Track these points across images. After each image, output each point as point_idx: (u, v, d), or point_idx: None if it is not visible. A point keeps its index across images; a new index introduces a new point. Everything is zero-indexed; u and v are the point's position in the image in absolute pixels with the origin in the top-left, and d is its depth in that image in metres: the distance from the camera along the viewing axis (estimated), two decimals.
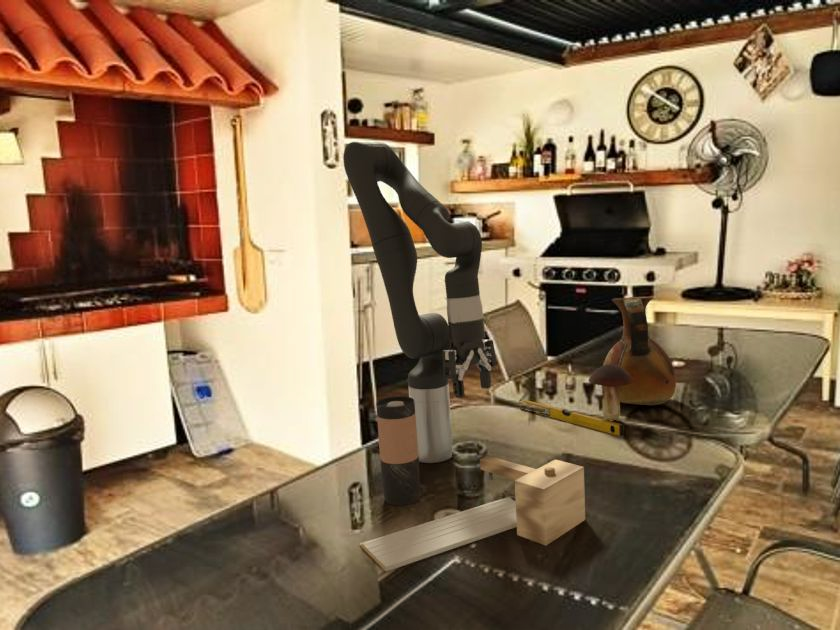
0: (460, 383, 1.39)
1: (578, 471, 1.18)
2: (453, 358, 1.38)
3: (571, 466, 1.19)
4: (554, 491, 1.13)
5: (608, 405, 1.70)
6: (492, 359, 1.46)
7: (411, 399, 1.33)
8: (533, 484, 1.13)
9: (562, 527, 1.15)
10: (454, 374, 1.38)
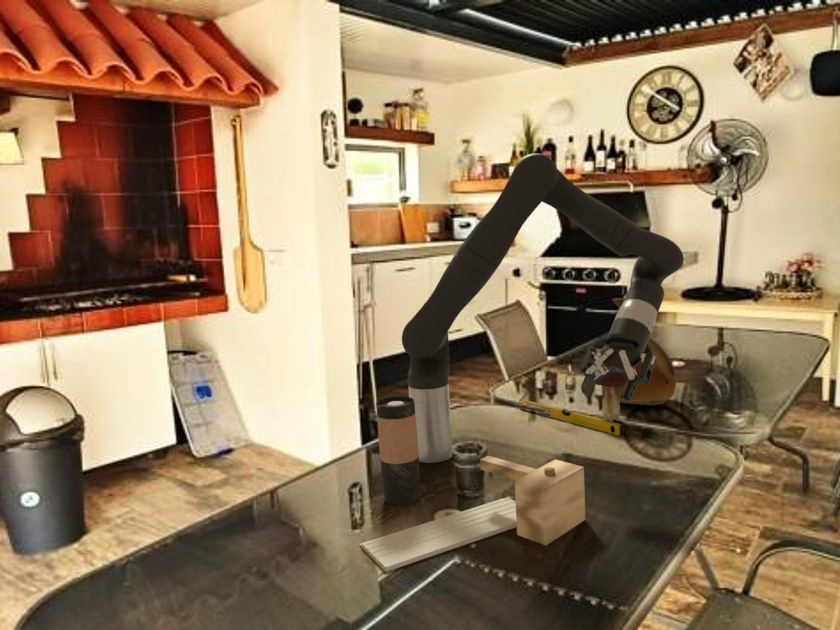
0: None
1: (578, 471, 1.18)
2: None
3: (571, 466, 1.19)
4: (554, 491, 1.13)
5: (608, 405, 1.70)
6: None
7: (411, 399, 1.33)
8: (533, 484, 1.13)
9: (562, 527, 1.15)
10: None
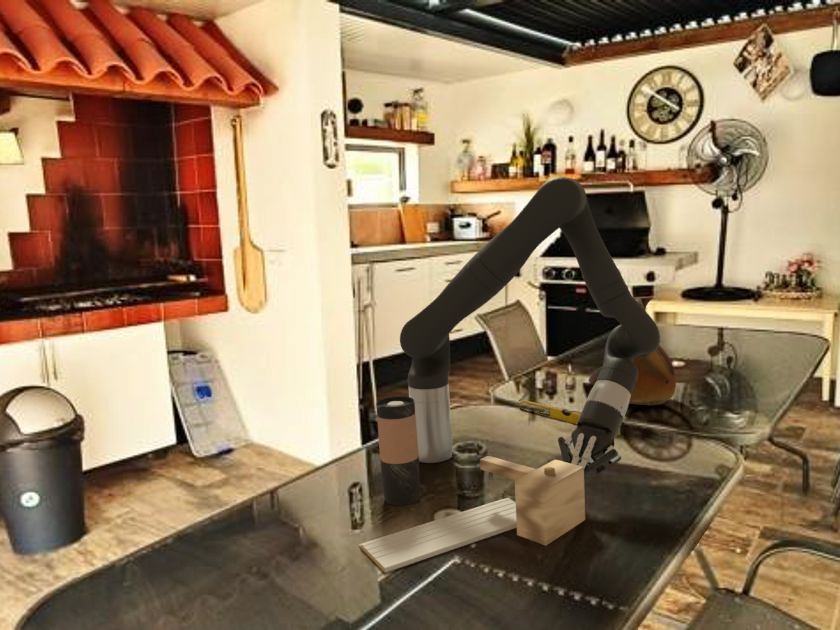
0: None
1: (578, 471, 1.18)
2: None
3: (571, 466, 1.19)
4: (554, 491, 1.13)
5: None
6: None
7: (411, 399, 1.33)
8: (533, 484, 1.13)
9: (562, 527, 1.15)
10: None
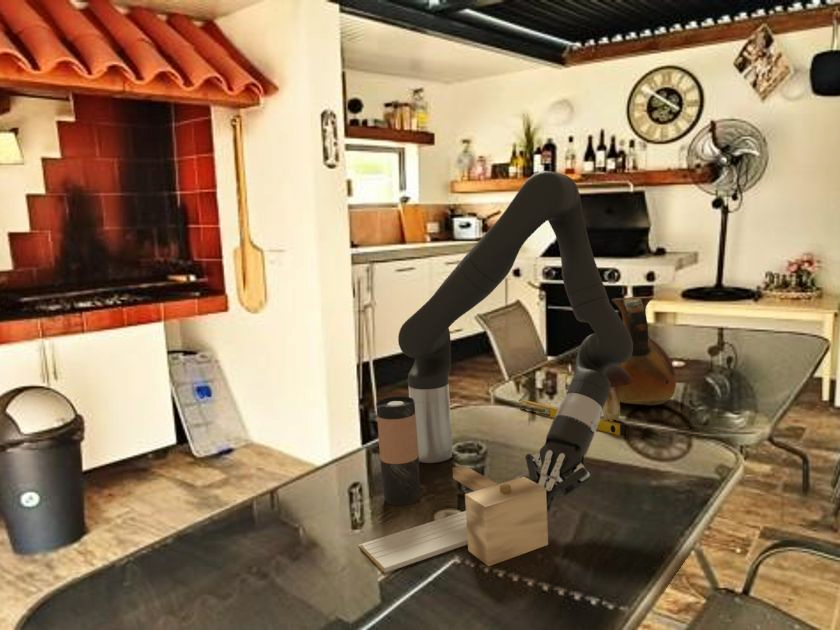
0: None
1: (537, 492, 1.10)
2: None
3: (533, 486, 1.12)
4: (500, 510, 1.07)
5: (608, 405, 1.70)
6: None
7: (411, 399, 1.33)
8: (479, 500, 1.08)
9: (512, 549, 1.09)
10: None
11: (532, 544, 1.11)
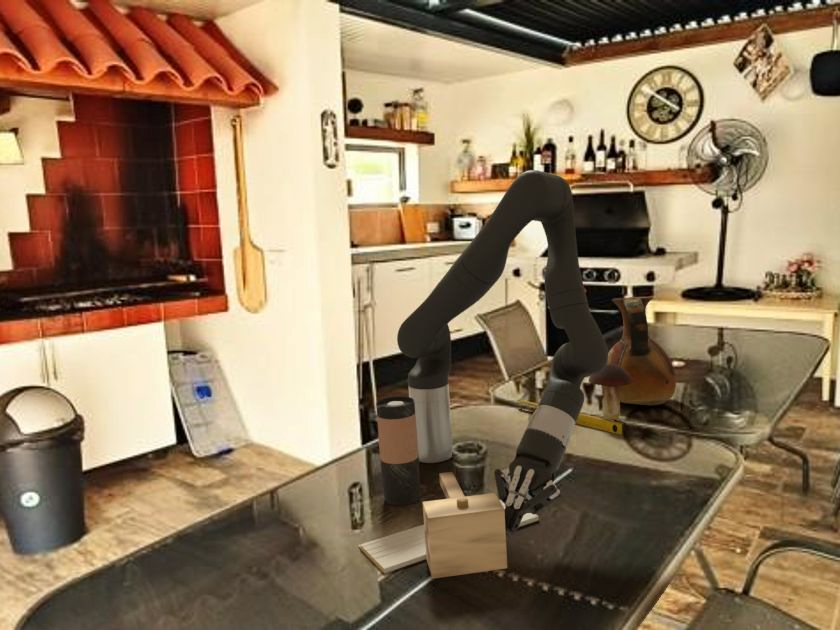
0: None
1: (493, 511, 1.04)
2: None
3: (494, 504, 1.06)
4: (447, 524, 1.03)
5: (608, 405, 1.70)
6: None
7: (411, 399, 1.33)
8: (429, 510, 1.05)
9: (462, 566, 1.05)
10: None
11: (487, 564, 1.05)
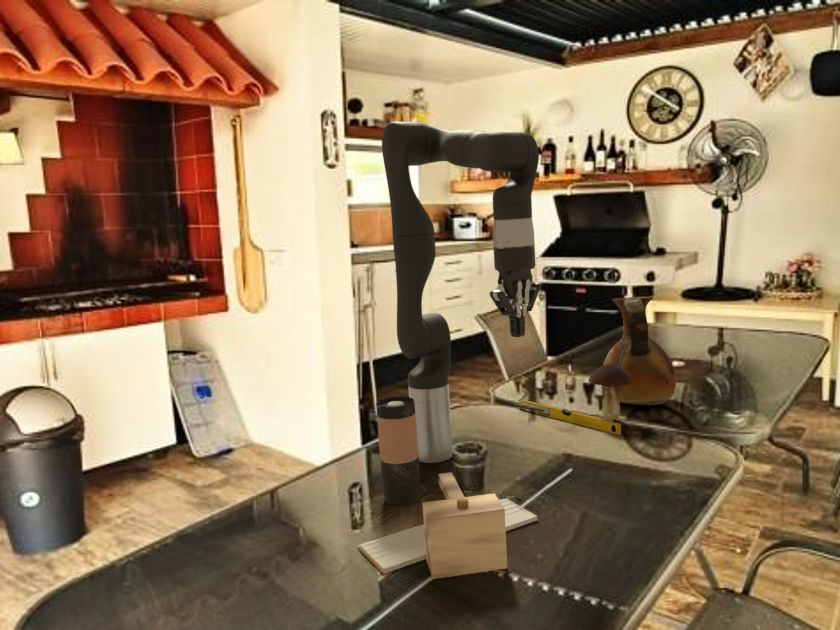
0: (518, 320, 1.24)
1: (494, 512, 1.04)
2: (504, 298, 1.21)
3: (494, 504, 1.06)
4: (447, 525, 1.03)
5: (608, 405, 1.70)
6: (531, 302, 1.26)
7: (411, 399, 1.33)
8: (429, 511, 1.05)
9: (462, 566, 1.05)
10: (513, 310, 1.23)
11: (487, 565, 1.05)
